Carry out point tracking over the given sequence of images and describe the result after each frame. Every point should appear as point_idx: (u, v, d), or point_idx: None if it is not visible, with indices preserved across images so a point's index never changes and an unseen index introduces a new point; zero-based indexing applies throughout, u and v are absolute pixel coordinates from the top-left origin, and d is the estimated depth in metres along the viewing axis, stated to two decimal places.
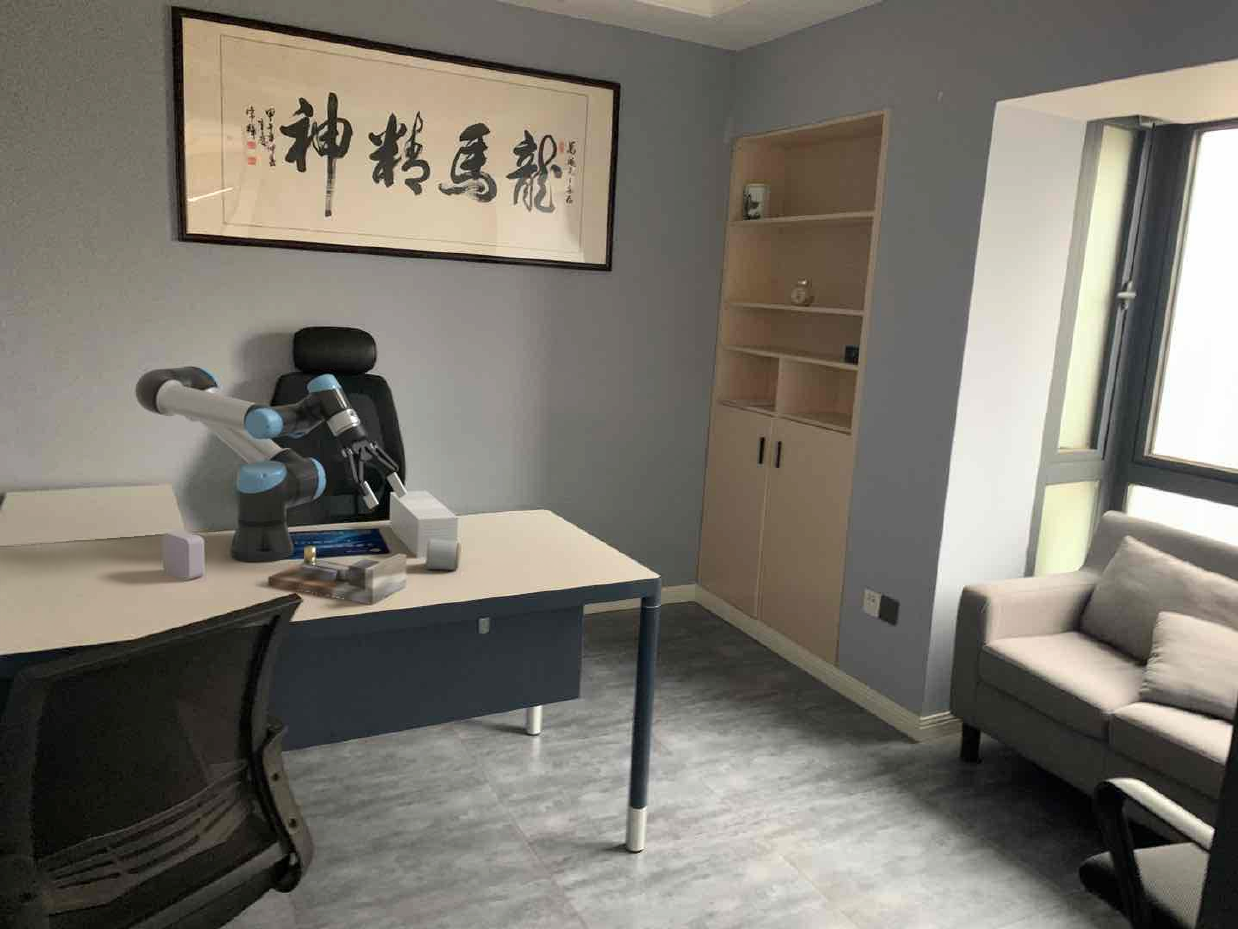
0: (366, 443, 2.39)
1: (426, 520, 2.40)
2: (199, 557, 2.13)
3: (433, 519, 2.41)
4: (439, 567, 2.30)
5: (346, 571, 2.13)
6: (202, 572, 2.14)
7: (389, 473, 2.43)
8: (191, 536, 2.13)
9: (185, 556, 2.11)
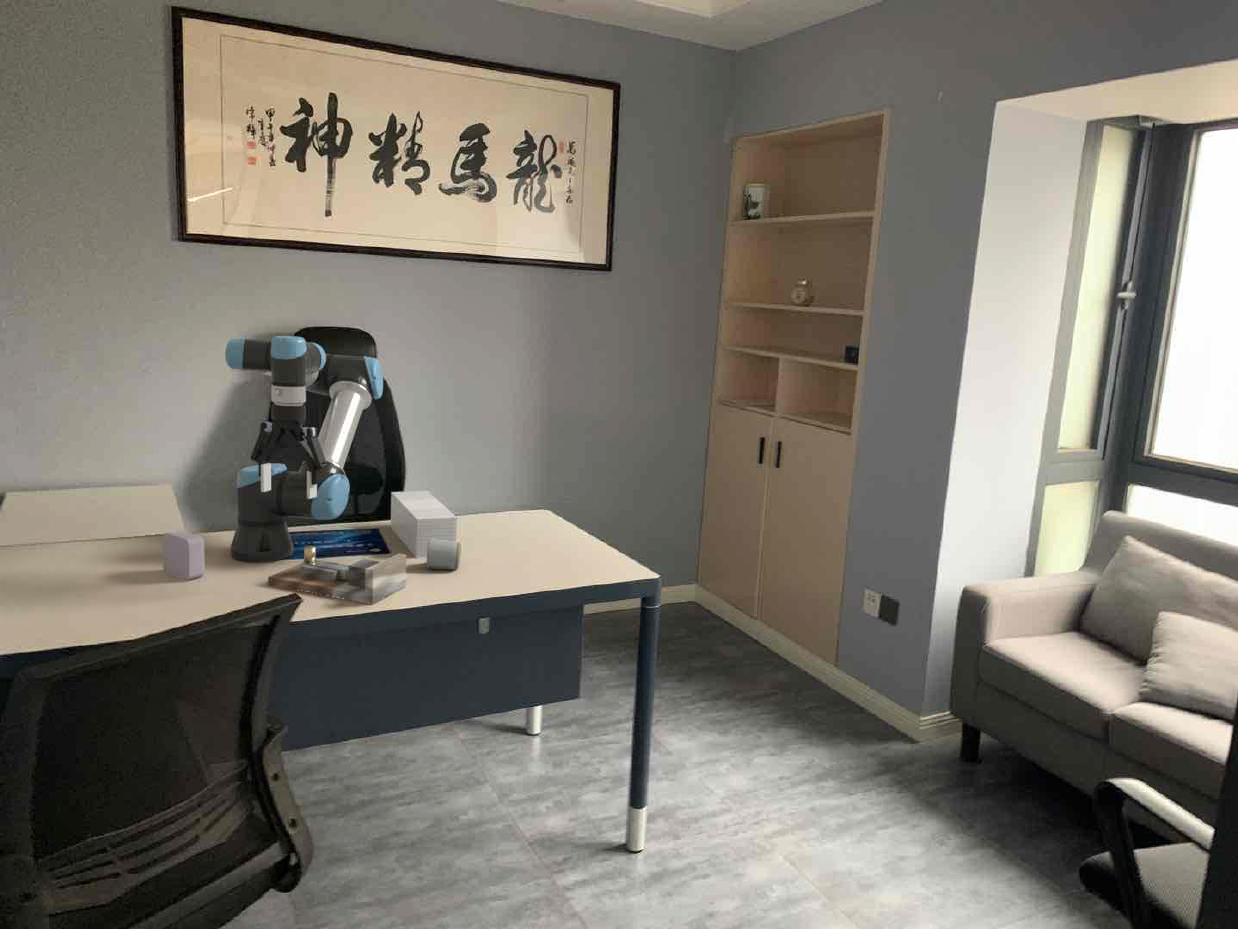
0: (294, 426, 2.11)
1: (425, 520, 2.40)
2: (199, 557, 2.13)
3: (432, 519, 2.41)
4: (439, 567, 2.31)
5: (346, 571, 2.13)
6: (202, 572, 2.14)
7: None
8: (191, 536, 2.13)
9: (185, 556, 2.11)
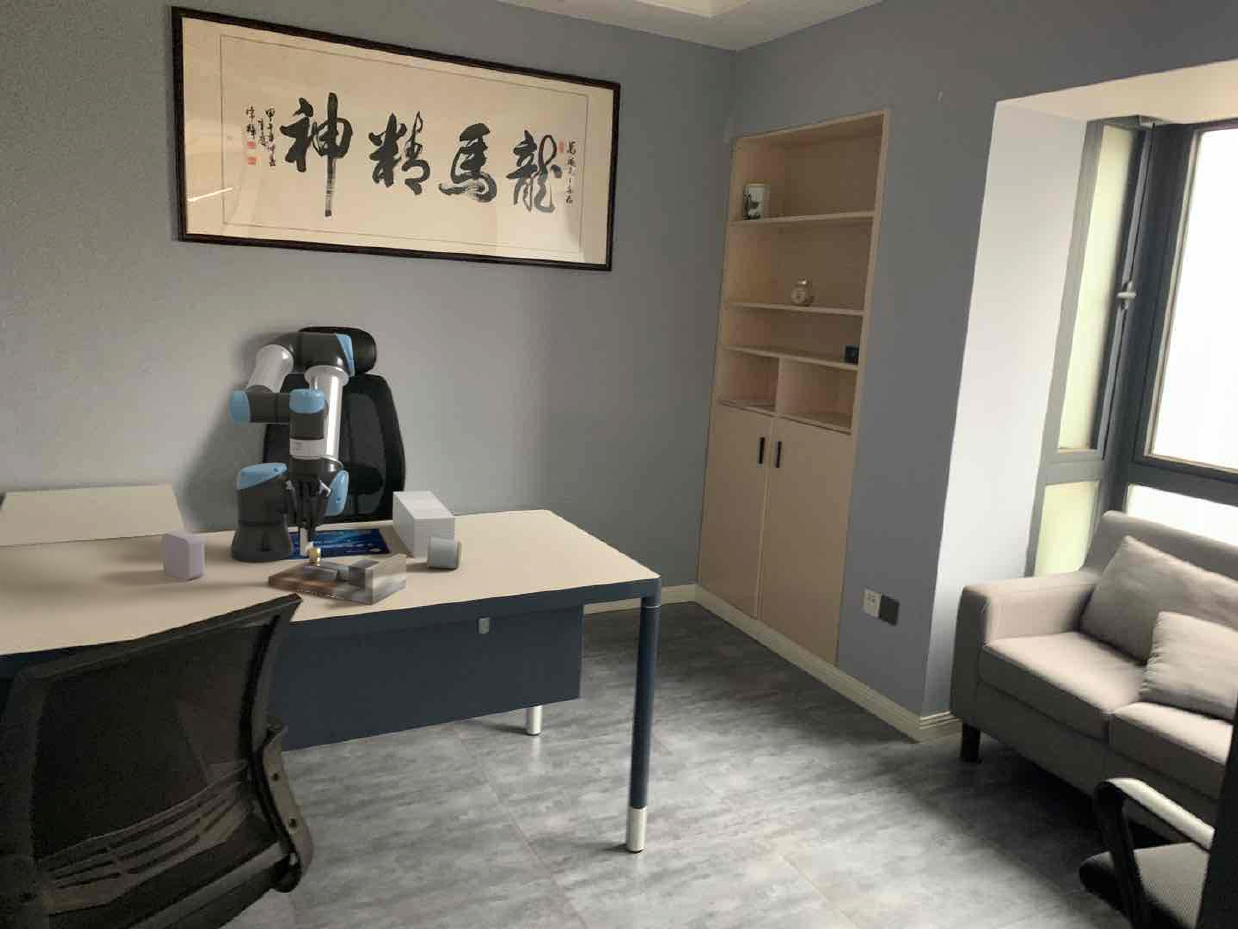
0: (315, 478, 2.11)
1: (423, 520, 2.40)
2: (199, 557, 2.13)
3: (430, 519, 2.41)
4: (440, 565, 2.32)
5: None
6: (202, 572, 2.14)
7: None
8: (191, 536, 2.13)
9: (185, 556, 2.11)
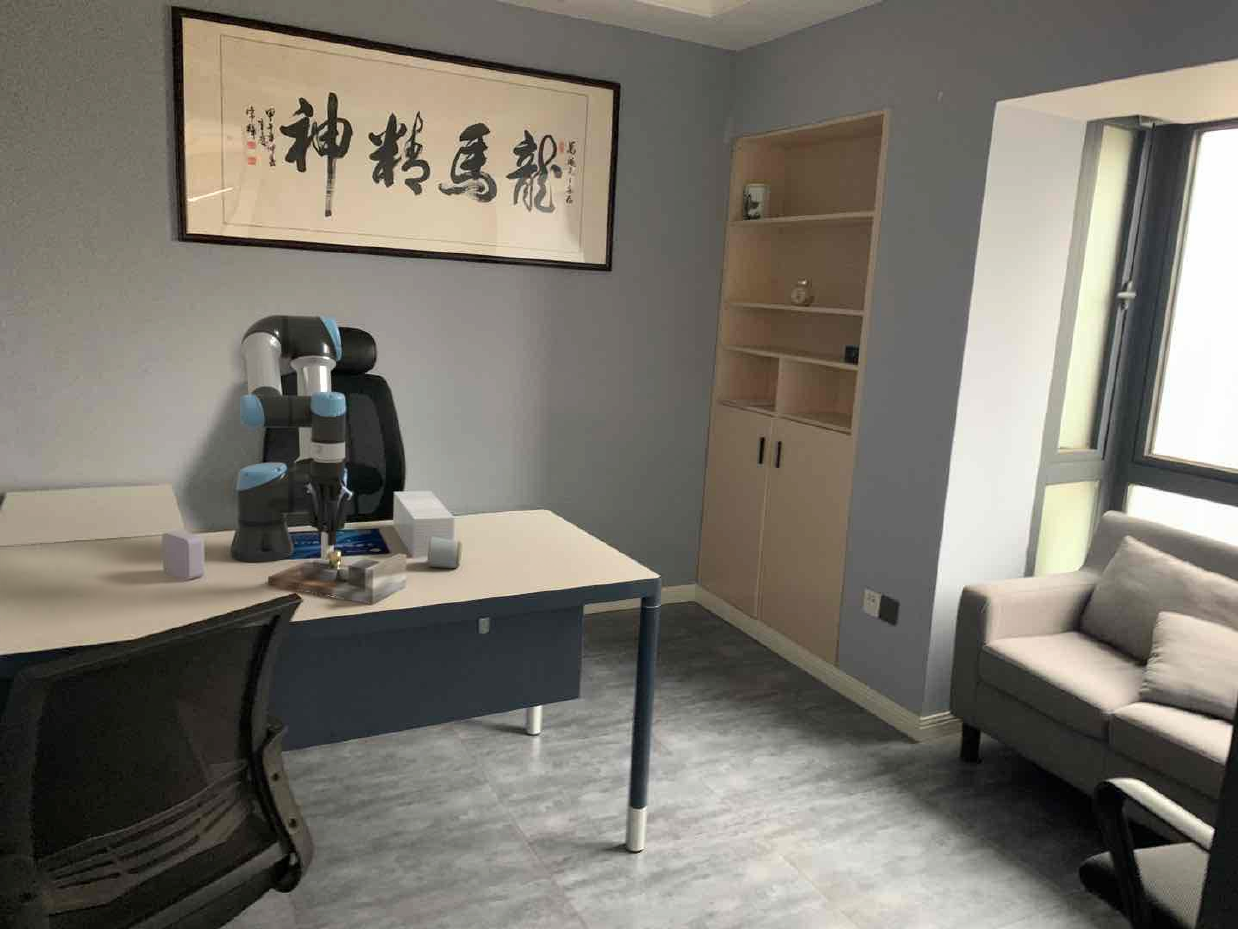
0: (336, 482, 2.09)
1: (422, 520, 2.40)
2: (199, 557, 2.13)
3: (429, 519, 2.40)
4: (440, 565, 2.32)
5: None
6: (202, 572, 2.14)
7: None
8: (191, 536, 2.13)
9: (185, 556, 2.11)
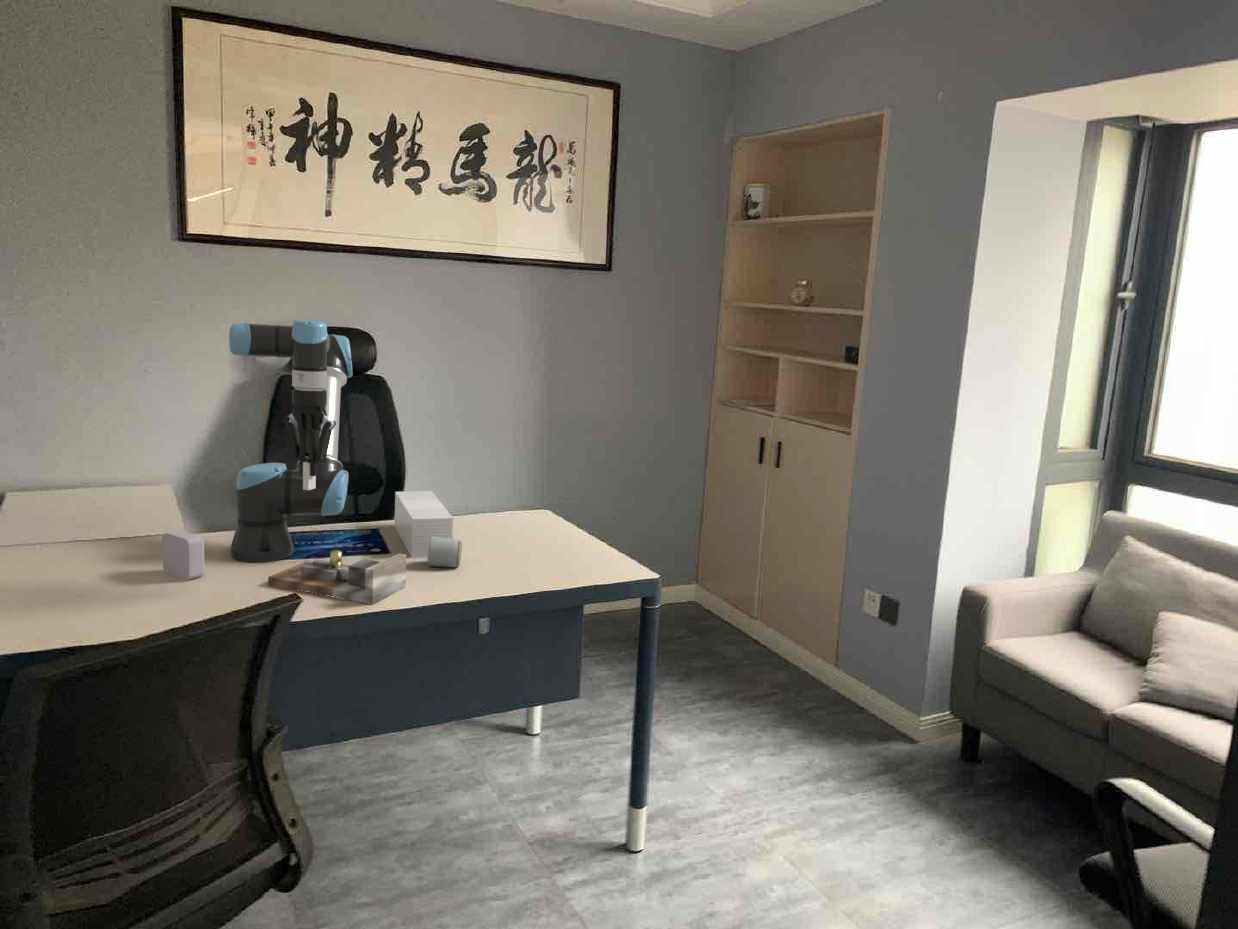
0: (317, 411, 2.08)
1: (421, 520, 2.40)
2: (199, 557, 2.13)
3: (427, 519, 2.40)
4: (440, 564, 2.33)
5: None
6: (202, 572, 2.14)
7: None
8: (191, 536, 2.13)
9: (185, 556, 2.11)
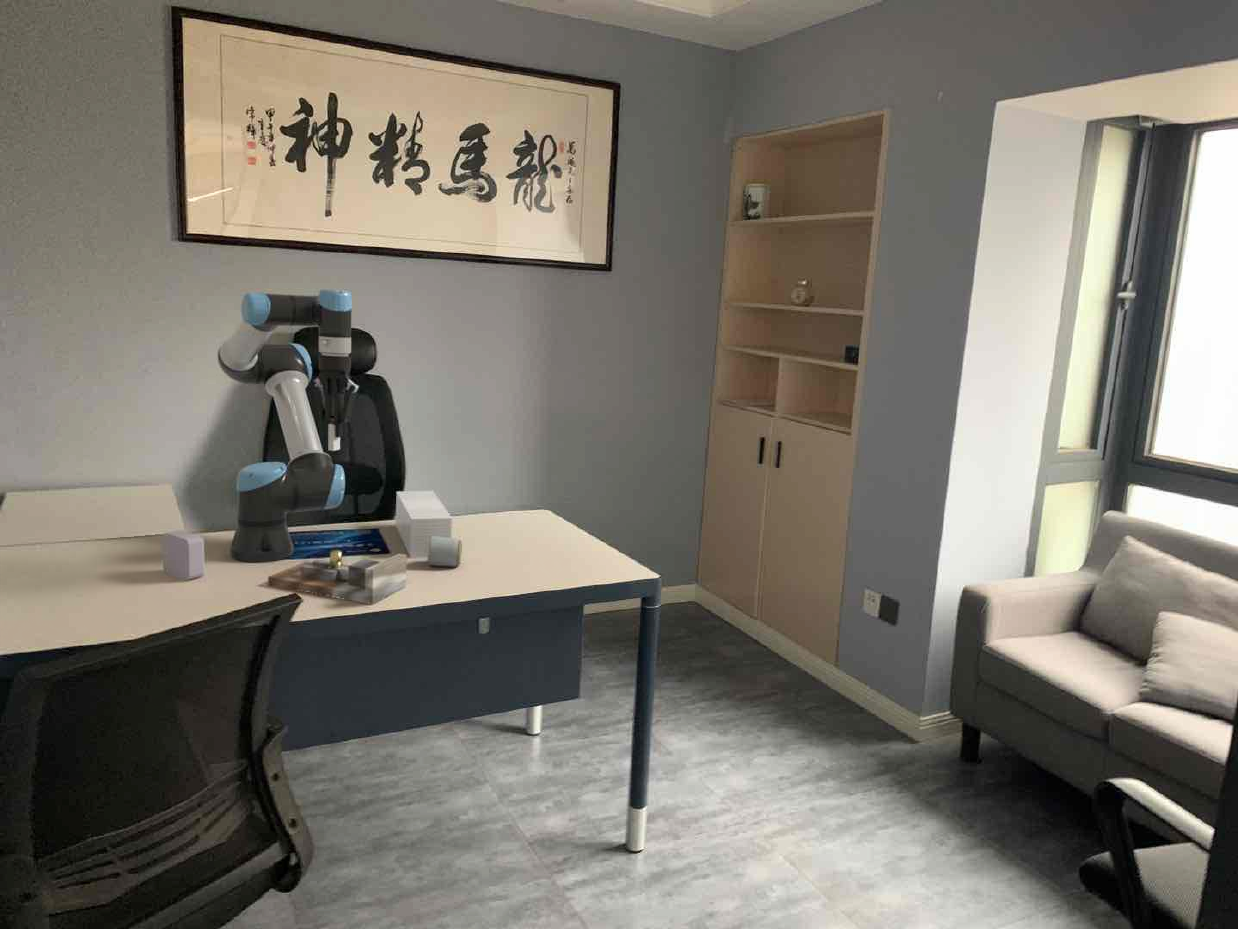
0: (342, 375, 2.20)
1: (419, 520, 2.40)
2: (199, 557, 2.13)
3: (426, 519, 2.40)
4: (441, 564, 2.33)
5: None
6: (202, 572, 2.14)
7: None
8: (191, 536, 2.13)
9: (185, 556, 2.11)
